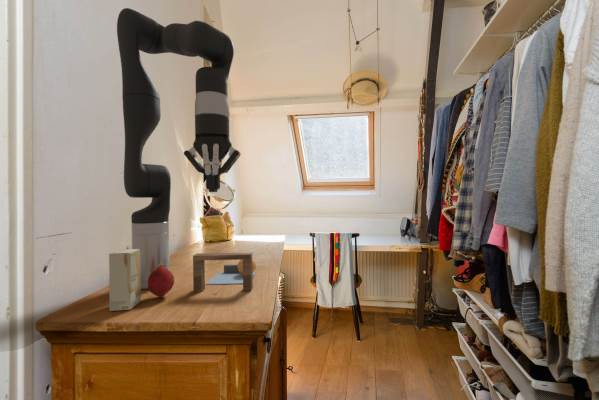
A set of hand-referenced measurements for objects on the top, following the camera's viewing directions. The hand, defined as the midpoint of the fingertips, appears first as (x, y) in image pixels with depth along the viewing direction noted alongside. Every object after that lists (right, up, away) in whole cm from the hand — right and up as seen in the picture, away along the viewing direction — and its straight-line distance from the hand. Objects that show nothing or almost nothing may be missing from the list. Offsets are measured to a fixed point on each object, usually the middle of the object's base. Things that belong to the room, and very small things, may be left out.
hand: (213, 191), depth 69 cm
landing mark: (0, -25, +20) cm, 32 cm away
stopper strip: (0, -25, +26) cm, 36 cm away
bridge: (0, -25, +9) cm, 26 cm away
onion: (-13, -25, +3) cm, 29 cm away
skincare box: (-19, -26, -2) cm, 32 cm away
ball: (+4, -22, +23) cm, 32 cm away
